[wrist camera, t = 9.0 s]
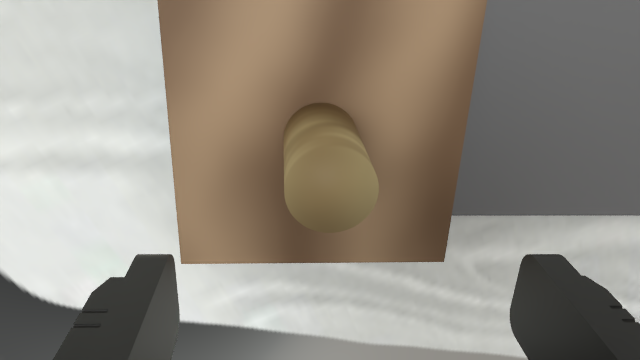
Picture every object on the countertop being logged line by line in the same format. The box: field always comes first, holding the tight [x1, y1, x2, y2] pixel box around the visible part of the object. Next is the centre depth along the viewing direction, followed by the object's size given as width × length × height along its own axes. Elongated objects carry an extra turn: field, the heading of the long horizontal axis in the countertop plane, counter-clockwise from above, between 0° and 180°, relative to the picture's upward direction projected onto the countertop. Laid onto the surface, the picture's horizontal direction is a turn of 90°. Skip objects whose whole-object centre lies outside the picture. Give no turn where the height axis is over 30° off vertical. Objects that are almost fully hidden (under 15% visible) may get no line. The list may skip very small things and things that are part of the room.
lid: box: [158, 0, 487, 264], centre depth 19 cm, size 12×12×6 cm
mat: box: [452, 0, 640, 215], centre depth 28 cm, size 14×14×1 cm
